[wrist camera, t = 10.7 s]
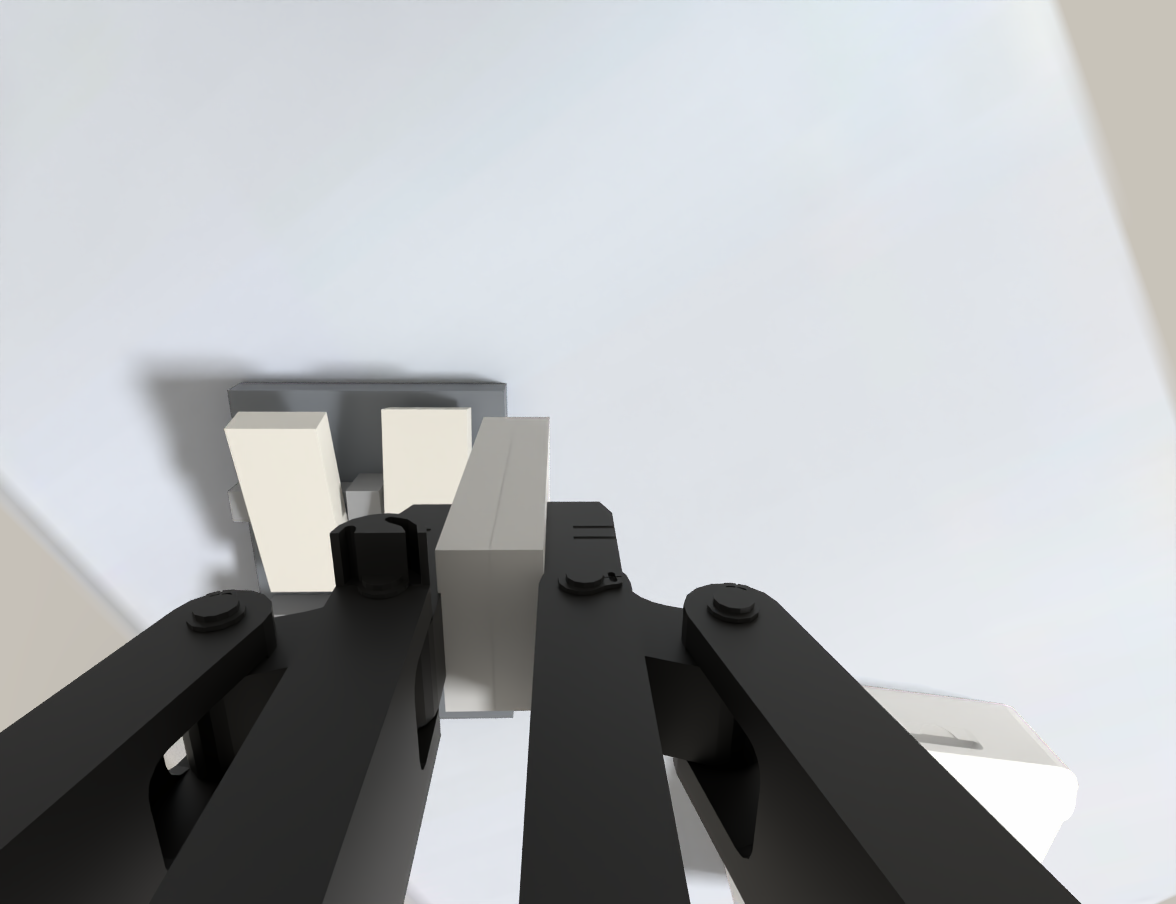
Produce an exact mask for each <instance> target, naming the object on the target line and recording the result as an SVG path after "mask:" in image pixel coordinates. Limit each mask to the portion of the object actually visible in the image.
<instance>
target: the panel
mask: <svg viewBox="0 0 1176 904" xmlns="http://www.w3.org/2000/svg"><path fill="white" fill-rule="evenodd" d="M227 391H228V397H229V404H230V410H231V416H232V419H233V417H234V416H235V415H236V414H237V413H238V412H327V417H328V422H329V427H330V432H331V437H332V442H333V448H334V453H335V458H336V463H337V468H338V473H339V478H340V483H341V488H342V493H343V498H344V503H345V508H346V513H347V518H348V521H349V520H351V519H354V518H358V517H363V516H367V515H372V514H384V513H385V510H384V480H383V449H382V418H381V409H385V408H389V407H471V430H472V448H473V445H474V442H475V439H476V437H477V434H478V431H479V428H480V426H481V423H482V420H483V418H484V417H507V386H506V384H444V383H240V384H238V385H236V386H234V387H233V388H231V389H229V390H227ZM228 496H229V502H230V508H231V514H232V519H233V522H249V527H250V533H251V539H252V546H253V552H254V558H255V564H256V570H257V576H258V583H259V589H260V593H261V594H264V595H265V596H266V597H268V598H269V599H270V600H271V601H272V606H273V612H274V617H278V616H284V615H289V614H295V613H300V612H306V611H310V610H314V609H318V608H322V607H324V605H325V604H326V602H327V600H328V598H329V597H330V595H331V593H332V592H271V590H270V587H269V583H268V580H267V576H266V573H265V569H264V566H263V563H262V559H261V556H260V552H259V549H258V545H257V542H256V538H255V535H254V531H253V528H252V524H251V521H250V517H249V514H248V510H247V507H246V504H245V500H244V497H243V493H242V490H241V486H240V483H239V482H238V483H237V484H236V485H235V486H234V487H232V488H231V489H230V490H229V491H228ZM513 713H514V711H463V712H446V711H445V695H444V688H443V692H442V696H441V700H440V704H439V717H440V719H465V718H513Z"/></svg>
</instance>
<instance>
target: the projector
mask: <svg viewBox="0 0 1176 904" xmlns="http://www.w3.org/2000/svg"><path fill="white" fill-rule="evenodd" d="M861 686H862V687H863V688H864V689H865V690H866V691H867V692H868V693H869V694H870V695H871V696H872V697H873V698H874V699H875V700H876V701H877V702H878V703H879V704H881V705H882V706H883V707H884V708H885V709H886V710H887V711H888V712H889V713H890V714H891V715H892V716H893V717H894V718H895V719H896V720H897V721H898V722H899V723H900V724H901V725H902V726H903V727H904V728H905V729H906V730H907V731H908V732H909V733H910V734H911V735H912V736H913V737H914V738H915V739H916V740H917V741H918V742H919V743H920V744H921V745H922V746H923V747H924V748H925V749H926V750H927V751H928V752H929V753H930V754H931V755H932V756H933V757H934V758H935V759H936V760H937V761H938V762H939V763H940V764H941V765H942V766H943V767H944V768H945V769H946V770H947V771H948V772H949V773H950V774H951V775H952V776H953V777H954V778H955V779H956V780H957V781H958V782H959V783H960V784H961V785H962V786H963V787H964V788H965V789H966V790H967V791H968V792H969V793H970V794H971V795H972V796H973V797H974V798H975V799H976V800H977V801H978V802H979V803H980V804H981V805H982V806H983V807H984V808H985V809H986V810H987V811H988V812H989V813H990V814H991V815H992V816H993V817H994V818H995V819H996V820H997V821H998V822H999V823H1000V824H1001V825H1002V826H1003V827H1004V828H1005V829H1006V830H1007V831H1008V832H1009V833H1010V834H1011V835H1012V836H1013V837H1014V838H1015V839H1016V840H1017V841H1019V842H1020V843H1021V844H1022V845H1023V846H1024V847H1025V848H1026V849H1027V850H1028V851H1029V852H1030V853H1031V854H1032V855H1033V856H1034V857H1035V858H1036V859H1037V860H1038V861H1039V862H1040V863H1042V861H1043V859H1044V857H1045V855H1046V854H1047V852H1048V850H1049V848H1050V846H1051V844H1052V842H1053V840H1054V838H1055V836H1056V834H1057V832H1058V830H1059V828H1060V827H1061V825H1062V823H1063V821H1066V820H1067V819H1068V818H1069V817H1070V816H1071V815H1072V813H1073V811H1074V808H1075V803H1076V794H1077V790H1078V786H1079V785H1078V782H1077V779H1076V776H1075V775H1074V774H1073V773H1072V772H1071V770H1070V769H1069V768H1068V767H1067V766H1066V765H1065V764H1064V763H1063V762H1062V761H1061V759H1060V758H1059V757H1058V756H1057V755H1056V754H1055V753H1054V752H1053V751H1052V750H1051V749H1050V747H1049V746H1048V745H1047V744H1046V743H1045V742H1044V741H1043V740H1042V739H1041V738H1040V736H1039V735H1038V734H1037V733H1036V732H1035V731H1034V730H1033V729H1032V728H1031V727H1030V725H1029V724H1028V723H1027V722H1026V721H1025V720H1024V719H1023V718H1022V717H1021V716H1020V715H1019V713H1018V712H1017V711H1016V710H1015V709H1014V708H1013V707H1011V706H1008V705H1005V704H1001V703H993V702H986V701H978V700H970V699H963V698H955V697H947V696H940V695H932V694H925V693H917V692H909V691H902V690H894V689H886V688H879V687H871V686H864V685H861ZM724 866H725V865H724ZM725 870H726V874H727V878H728V882H729V886H730V890H731V894H732V898H733V902H734V904H745V903H744V901H743V899H742V897H741V895H740V893H739V891H738V889H737V888H736V886H735V884H734V882H733V880H732V878H731V876H730V874H729V872H728V870H727V868H726V867H725Z"/></svg>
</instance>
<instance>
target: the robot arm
mask: <svg viewBox="0 0 1176 904" xmlns="http://www.w3.org/2000/svg"><path fill="white" fill-rule="evenodd" d="M329 534H330V543H331V551H332V559H333V568H334V576H335V584H336V587H335V588H334V590H333V592H332V593H331V595H330V597H329V598H328V600H327V602H326V604H325V605H324V607H322V608H318V609H314V610H310V611H306V612H300V613H295V614H289V615H284V616H278V617H274V612H273V606H272V601H271V600H270V599H269V598H268V597H266V596H265V595H264V594H261V593H257V592H254V591H248V590H223V591H222V592H220V591H217V592H213V593H209V594H207V595H206V596H203V597H200V598H197V599H194V600H191V601H189V602H187V603H186V604H184V605H182V606H180V607H178V608H176V609H175V610H173V611H172V612H170V613H169V614H167V615H166V616H164V617H163V618H162V619H160V620H159V621H157V622H156V623H155V624H153V625H152V626H150V627H149V628H148V629H146V630H145V631H143V632H142V633H140V634H139V635H138V636H136V637H135V638H133V639H132V640H131V641H129V642H128V643H126V644H125V645H124V646H122V647H121V648H119V649H118V650H116V651H115V652H114V653H112V654H111V655H109V656H108V657H107V658H105V659H104V660H102V661H101V662H99V663H98V664H97V665H95V666H94V667H92V668H91V669H90V670H88V671H87V672H85V673H84V674H83V675H81V676H80V677H78V678H77V679H75V680H74V681H73V682H71V683H70V684H68V685H67V686H66V687H64V688H63V689H61V690H60V691H59V692H57V693H56V694H54V695H53V696H52V697H50V698H49V699H47V700H46V701H45V702H43V703H42V704H40V705H39V706H37V707H36V708H34V709H33V710H32V711H30V712H29V713H28V714H26V715H25V716H23V717H22V718H20V719H19V720H18V721H16V722H15V723H14V724H12V725H11V726H9V727H8V728H6V729H5V730H3V731H2V732H1V733H0V904H404V899H405V895H406V890H407V886H408V881H409V877H410V872H411V868H412V863H413V859H414V854H415V849H416V845H417V840H418V836H419V831H420V827H421V822H422V818H423V813H424V809H425V804H426V800H427V795H428V791H429V786H430V782H431V777H432V773H433V768H434V764H435V759H436V755H437V750H438V746H439V741H440V737H441V733H440V717H439V704H440V700H441V696H442V692H443V688H444V695H445V711H446V712H463V711H528V710H531V716H530V733H529V749H528V765H527V782H526V798H525V814H524V831H523V847H522V863H521V879H520V896H519V904H690V899H689V894H688V888H687V883H686V878H685V872H684V867H683V861H682V856H681V851H680V845H679V840H678V834H677V829H676V824H675V818H674V813H673V808H672V802H671V797H670V791H669V786H668V781H667V775H666V770H665V764H664V759H663V755H667V756H671V757H673V761H674V765H675V769H676V773H677V775H678V777H679V779H680V781H681V783H682V785H683V786H684V788H685V790H686V792H687V794H688V796H689V798H690V800H691V802H692V804H693V806H694V807H695V809H696V811H697V813H698V815H699V817H700V819H701V821H702V823H703V825H704V827H705V828H706V830H707V832H708V834H709V836H710V838H711V840H712V842H713V844H714V846H715V847H716V849H717V851H718V853H719V855H720V857H721V859H722V861H723V863H724V865H725V867H726V868H727V870H728V872H729V874H730V876H731V878H732V880H733V882H734V884H735V886H736V888H737V889H738V891H739V893H740V895H741V897H742V899H743V901H744V903H745V904H1081V903H1080V902H1079V901H1078V900H1077V899H1076V898H1075V897H1074V896H1073V895H1072V894H1071V893H1070V892H1069V891H1068V890H1067V889H1066V888H1065V887H1064V886H1063V885H1062V884H1061V883H1060V882H1059V881H1058V880H1057V879H1056V878H1055V877H1054V876H1053V875H1052V874H1051V873H1050V872H1049V871H1048V870H1047V869H1046V868H1045V867H1044V866H1043V865H1042V864H1041V863H1040V862H1039V861H1038V860H1037V859H1036V858H1035V857H1034V856H1033V855H1032V854H1031V853H1030V852H1029V851H1028V850H1027V849H1026V848H1025V847H1024V846H1023V845H1022V844H1021V843H1020V842H1019V841H1017V840H1016V839H1015V838H1014V837H1013V836H1012V835H1011V834H1010V833H1009V832H1008V831H1007V830H1006V829H1005V828H1004V827H1003V826H1002V825H1001V824H1000V823H999V822H998V821H997V820H996V819H995V818H994V817H993V816H992V815H991V814H990V813H989V812H988V811H987V810H986V809H985V808H984V807H983V806H982V805H981V804H980V803H979V802H978V801H977V800H976V799H975V798H974V797H973V796H972V795H971V794H970V793H969V792H968V791H967V790H966V789H965V788H964V787H963V786H962V785H961V784H960V783H959V782H958V781H957V780H956V779H955V778H954V777H953V776H952V775H951V774H950V773H949V772H948V771H947V770H946V769H945V768H944V767H943V766H942V765H941V764H940V763H939V762H938V761H937V760H936V759H935V758H934V757H933V756H932V755H931V754H930V753H929V752H928V751H927V750H926V749H925V748H924V747H923V746H922V745H921V744H920V743H919V742H918V741H917V740H916V739H915V738H914V737H913V736H912V735H911V734H910V733H909V732H908V731H907V730H906V729H905V728H904V727H903V726H902V725H901V724H900V723H899V722H898V721H897V720H896V719H895V718H894V717H893V716H892V715H891V714H890V713H889V712H888V711H887V710H886V709H885V708H884V707H883V706H882V705H881V704H879V703H878V702H877V701H876V700H875V699H874V698H873V697H872V696H871V695H870V694H869V693H868V692H867V691H866V690H865V689H864V688H863V687H862V686H861V685H860V684H859V683H858V682H857V681H856V680H855V679H854V678H853V677H852V676H851V675H850V674H849V673H848V672H847V671H846V670H845V669H844V668H843V667H842V666H841V665H840V664H839V663H838V662H837V661H836V660H835V659H834V658H833V657H832V656H831V655H830V654H829V653H828V652H827V651H826V650H825V649H824V648H823V647H822V646H821V645H820V644H819V643H818V642H817V641H816V640H815V639H814V638H813V637H812V636H811V635H810V634H809V633H808V632H807V631H806V630H805V629H804V628H803V627H802V626H801V625H800V624H799V623H798V622H797V621H796V620H795V619H794V618H793V617H792V616H791V615H790V614H789V613H788V612H787V611H786V610H785V609H784V608H783V607H782V606H781V605H780V604H779V603H778V602H777V601H775V600H774V599H772V598H771V597H770V596H768V595H767V594H765V593H764V592H761V591H758V590H756V589H753V588H750V587H748V586H746V585H741V584H738V585H736V583H724V584H710V585H706V586H703V587H699V588H696V589H695V590H694V591H692V592H691V593H689V594H688V595H687V597H686V599H685V602H684V606H683V608H677V607H672V606H666V605H662V604H658V603H654V602H651V601H649V600H646V599H644V598H641V597H640V596H638V595H637V594H635V593H634V592H632V587H631V582H630V581H629V579H628V577H627V576H626V574H624V573H623V572H622V568H621V563H620V557H619V551H618V545H617V539H616V534H615V528H614V522H613V516H612V512H610V511H609V510H608V509H607V508H606V507H605V506H603V505H602V504H601V503H600V502H550V426H549V417H484V418H483V420H482V423H481V426H480V428H479V431H478V434H477V437H476V439H475V442H474V445H473V448H472V450H471V453H470V456H469V459H468V461H467V464H466V467H465V469H464V472H463V475H462V478H461V480H460V483H459V486H458V489H457V491H456V494H455V497H454V500H453V502H452V504H413V505H411V506H410V507H408V508H407V509H405V510H404V511H402V512H401V513H399V514H395V513H384V514H372V515H367V516H363V517H358V518H354V519H351V520H349V521H347V522H345V523H342V524H340V525H338V526H337V527H336V528H335V529H334V530H332V531H331V532H330V533H329ZM182 736H183V741H184V745H185V750H186V754H187V755H186V756H185V757H184V758H183V759H182V760H181V761H180V762H179V763H178V764H177V765H176V766H175V767H173V768H172V769H170V770H168V769H167V767H166V765H165V760H164V756H163V755H164V754H165V753H166V751H167V750H168V749H169V748H170V747H171V746H172V745H173V744H174V743H175V742H177V741H178V740H179V739H180V738H181V737H182Z"/></svg>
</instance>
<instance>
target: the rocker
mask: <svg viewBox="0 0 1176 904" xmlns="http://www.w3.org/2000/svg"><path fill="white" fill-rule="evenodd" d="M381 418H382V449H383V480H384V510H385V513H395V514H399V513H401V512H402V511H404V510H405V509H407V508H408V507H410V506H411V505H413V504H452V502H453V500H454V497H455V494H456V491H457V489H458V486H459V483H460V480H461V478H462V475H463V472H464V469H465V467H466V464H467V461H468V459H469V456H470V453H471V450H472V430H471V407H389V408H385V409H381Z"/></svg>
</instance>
